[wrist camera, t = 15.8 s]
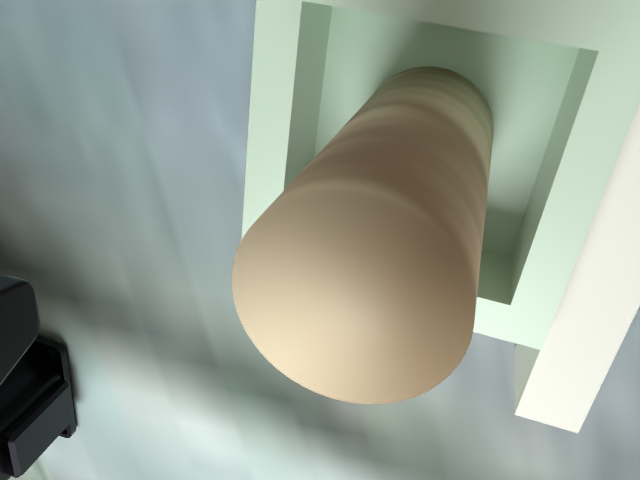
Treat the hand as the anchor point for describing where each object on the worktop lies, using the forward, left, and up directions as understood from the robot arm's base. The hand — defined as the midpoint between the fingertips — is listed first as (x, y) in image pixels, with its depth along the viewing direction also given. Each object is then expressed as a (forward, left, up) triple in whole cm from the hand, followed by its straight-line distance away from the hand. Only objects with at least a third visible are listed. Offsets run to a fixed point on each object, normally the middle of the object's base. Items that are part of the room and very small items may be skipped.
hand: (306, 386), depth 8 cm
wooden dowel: (0, 0, -12) cm, 12 cm away
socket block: (0, 0, -13) cm, 13 cm away
